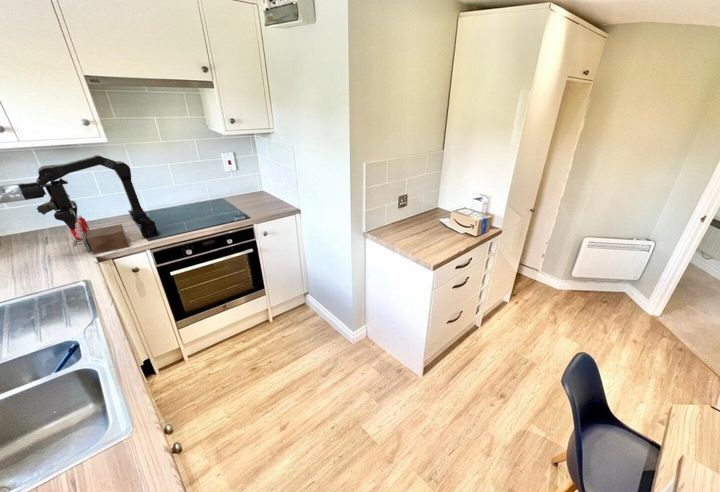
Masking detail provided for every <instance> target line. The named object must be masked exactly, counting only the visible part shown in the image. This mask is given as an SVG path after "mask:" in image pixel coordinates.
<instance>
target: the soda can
mask: <svg viewBox="0 0 720 492" xmlns="http://www.w3.org/2000/svg"><path fill="white" fill-rule="evenodd" d="M67 227H68V229H69V231H70V233H71V235H72V237H73V239H74V240H77V241H78V240H83V233H87V230H91V229H90V228H89V225H88V223H87V220H86V219H85V218H84V217H83V216H82V215H77V223H76V224H75V230H71V229H70V228H69V226H68V225H67Z"/></svg>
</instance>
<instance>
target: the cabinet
mask: <svg viewBox="0 0 720 492" xmlns="http://www.w3.org/2000/svg"><path fill="white" fill-rule="evenodd" d="M86 239H87V241H88V243H89V245H90V247H91V249H92V253H93V255H97V254H101V253H106V252H110V251H111V252H112V251H116V250H122V249H124V248H130V243H129V239H128V236H127V233H126V231H125V228H124V226H123V224H122V223H121V224H115V225H109V226H103V227H98V228H92V229H90V230H87V237H86Z"/></svg>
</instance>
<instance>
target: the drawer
mask: <svg viewBox="0 0 720 492" xmlns="http://www.w3.org/2000/svg"><path fill="white" fill-rule="evenodd" d="M86 237H87V233H83V240H75V239H74V240H73V241H72V247H74V248H76V247H77V246H82V245H84V247H85V249H86V251H87V253H88V254H91V253H93V251H92V249H91V247H90V245H89V243H88V241H87V239H86Z"/></svg>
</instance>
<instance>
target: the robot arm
mask: <svg viewBox="0 0 720 492" xmlns="http://www.w3.org/2000/svg"><path fill="white" fill-rule="evenodd" d="M97 166H101V167H104V168H107V169H110V170H113V171H114V172H115V174H116V175H117V177H118V179H119V180H120V182H121V185H122V187H123V189H124V193H125V195H126V198H127V200H128V203H129V205H130V209H129V210H127V212H128V213H129V215H130V216H129V219H131V220H132V221H133V222H134V223H135V224H137V225H139V226H140V228H139V231H140V233H141V235H142V237H143V238H144V239H148V238H152V237H158V236H159V235H160V234H159V232H158V229H157V225H156V221H155V220H154V219H152V218H151V216H148V215H147V214H146V212H145V210H144V209H143V208H142V206H141V204H140V201H139V197H138V195H137V193H136V189H135V187H134V184H133V182H132V172H131V167H130V166H129V165H128V164H127V163H126V162H123V161H121V160H113V159H110V158H108V157H104V156H102V155H100V154H96V155H93V156H90V157H86V158H82V159H78V160H75V161H74V160H73V161H70V162H67V163H62V164H48V165H42V166H40V167H39V168H38V169H37V175H38V177H37V179H36V180H35V182H27V183H25V182H24V183H18V186H19V189H20V191H21V194H22V196H23V198H24V199H25V201H28V200H35V199H41V198H45V196H46V195H47V194H48V195H49V198H50V199H49V201H47V202H44V203H42V204H40V205H38V206H37V207H36V210H37V212H38V214H39V213H40V214H42V215H43V216H44V215H47V213H51V212H52V211H54V214H53V217H54V219H55V220H58V221H61V222H64V223H65V225H66V226H67V227H68V226H69V227H68V229H69V228H70V229H71V230H75V224H76V223H77V216H78V204H77V202H76V200H75V201H74V200H71V197H70V194H68V192H67V190H66V188H65V185H68V184H69V181H68V180H66V179H63V178H64V177H65V176H67V175H69V174H72V173H76V172H78V171H83V170H86V169H90V168H93V167H97ZM45 189H46V191H45ZM70 229H69V230H70Z"/></svg>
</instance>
